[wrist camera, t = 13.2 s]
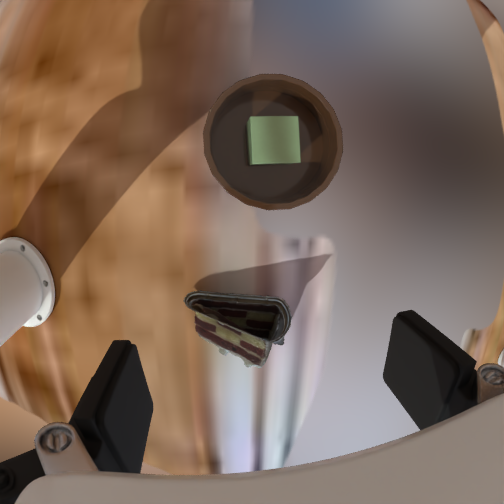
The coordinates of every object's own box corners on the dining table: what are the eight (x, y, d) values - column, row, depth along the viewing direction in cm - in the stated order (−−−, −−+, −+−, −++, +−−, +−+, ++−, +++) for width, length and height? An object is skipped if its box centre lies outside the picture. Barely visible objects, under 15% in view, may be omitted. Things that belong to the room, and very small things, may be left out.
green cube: (248, 165, 31) (252, 164, 27) (245, 124, 30) (250, 116, 26) (290, 164, 31) (300, 162, 27) (287, 123, 30) (298, 116, 26)
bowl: (210, 208, 32) (208, 214, 27) (203, 90, 29) (201, 76, 24) (327, 202, 33) (344, 206, 29) (321, 89, 30) (337, 77, 25)
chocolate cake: (178, 339, 36) (247, 402, 30) (177, 297, 33) (257, 364, 26) (231, 309, 43) (298, 358, 36) (237, 269, 39) (313, 318, 33)
